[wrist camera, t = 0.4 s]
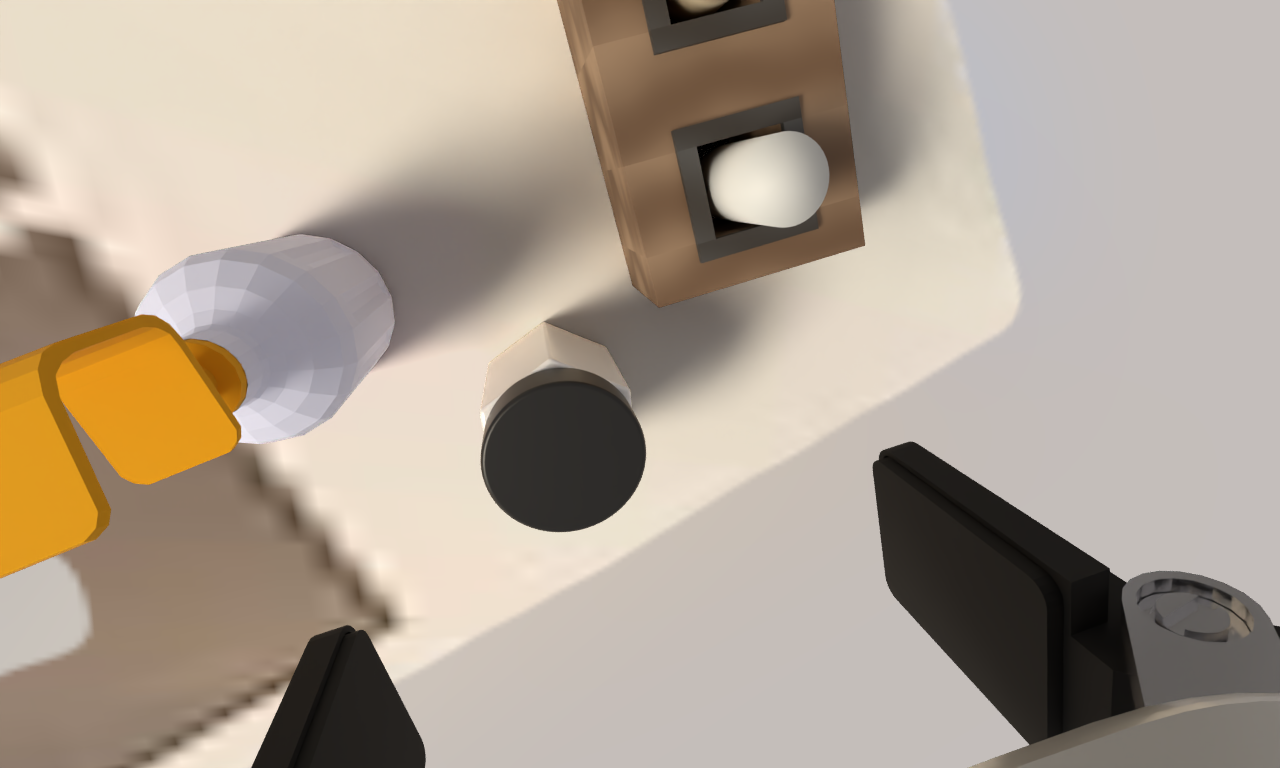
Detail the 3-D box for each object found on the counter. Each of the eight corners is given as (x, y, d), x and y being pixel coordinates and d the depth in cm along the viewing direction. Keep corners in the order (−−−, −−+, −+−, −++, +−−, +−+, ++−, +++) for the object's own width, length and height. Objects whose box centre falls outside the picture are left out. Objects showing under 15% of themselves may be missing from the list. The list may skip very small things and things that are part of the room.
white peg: (687, 154, 33) (734, 144, 26) (756, 135, 33) (822, 120, 26) (703, 228, 34) (752, 238, 27) (769, 209, 35) (835, 213, 27)
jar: (537, 468, 42) (545, 568, 31) (459, 381, 39) (436, 457, 28) (640, 391, 42) (685, 465, 31) (569, 298, 39) (589, 342, 28)
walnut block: (538, -68, 33) (545, -150, 25) (744, -117, 34) (812, -209, 26) (632, 285, 40) (660, 309, 32) (801, 235, 41) (869, 245, 33)
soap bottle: (286, 404, 38) (-72, 734, 15) (200, 267, 35) (-423, 419, 12) (421, 349, 38) (278, 587, 15) (349, 210, 35) (32, 247, 12)
